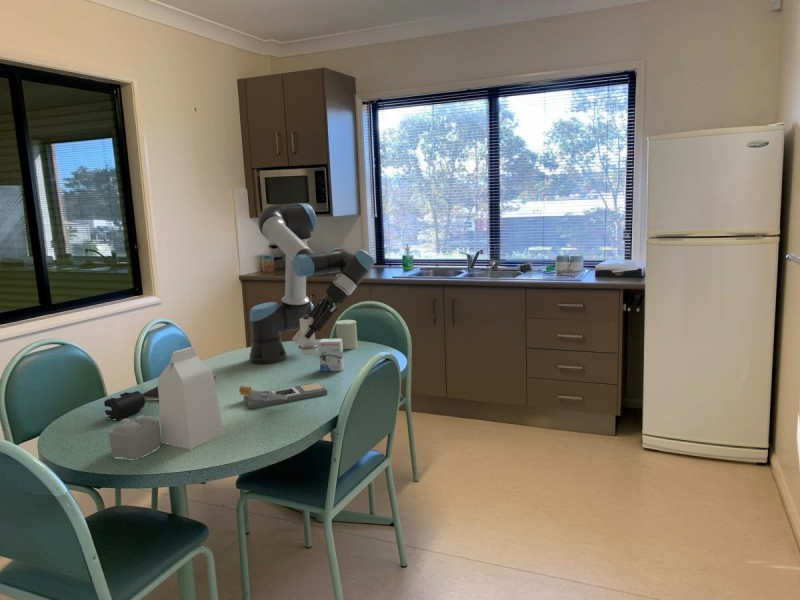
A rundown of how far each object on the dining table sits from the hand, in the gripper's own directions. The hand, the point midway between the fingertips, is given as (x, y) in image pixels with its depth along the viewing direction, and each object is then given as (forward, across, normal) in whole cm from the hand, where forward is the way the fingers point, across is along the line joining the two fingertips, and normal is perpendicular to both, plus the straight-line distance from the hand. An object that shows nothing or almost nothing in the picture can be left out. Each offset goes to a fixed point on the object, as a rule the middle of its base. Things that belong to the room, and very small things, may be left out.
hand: (297, 343), depth 199 cm
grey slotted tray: (+16, 0, +9) cm, 19 cm away
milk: (+39, +20, -14) cm, 46 cm away
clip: (+21, +3, +1) cm, 21 cm away
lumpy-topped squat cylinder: (+49, +20, -24) cm, 58 cm away
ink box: (0, -22, +26) cm, 34 cm away
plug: (0, 0, +6) cm, 6 cm away
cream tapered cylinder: (-12, -51, +38) cm, 65 cm away
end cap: (+51, -12, -26) cm, 59 cm away
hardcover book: (+39, -30, -13) cm, 51 cm away
